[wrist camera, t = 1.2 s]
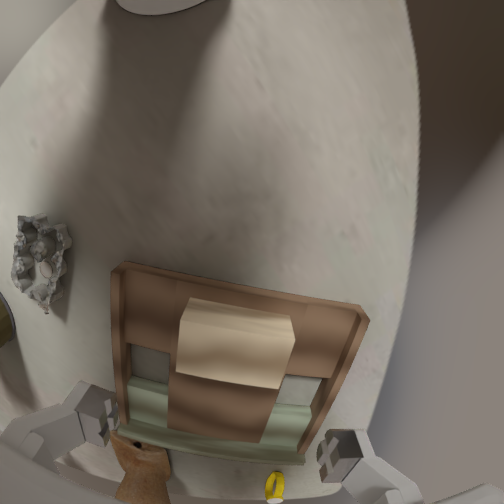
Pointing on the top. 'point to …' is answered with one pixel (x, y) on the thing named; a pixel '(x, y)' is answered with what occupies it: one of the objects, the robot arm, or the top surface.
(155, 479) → the clay pipe
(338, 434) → the robot arm
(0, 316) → the canister
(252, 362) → the block
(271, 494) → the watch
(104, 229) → the top surface
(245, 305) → the brown shallow open piece
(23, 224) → the egg carton
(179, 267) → the top surface
